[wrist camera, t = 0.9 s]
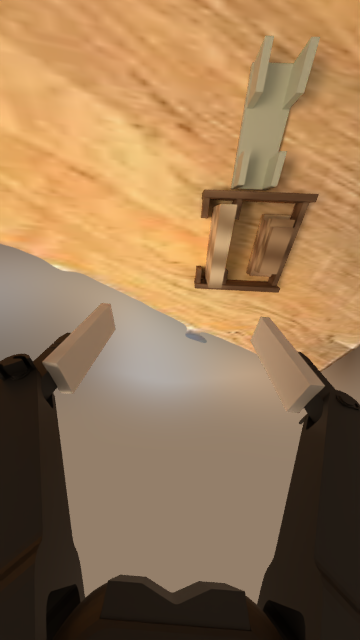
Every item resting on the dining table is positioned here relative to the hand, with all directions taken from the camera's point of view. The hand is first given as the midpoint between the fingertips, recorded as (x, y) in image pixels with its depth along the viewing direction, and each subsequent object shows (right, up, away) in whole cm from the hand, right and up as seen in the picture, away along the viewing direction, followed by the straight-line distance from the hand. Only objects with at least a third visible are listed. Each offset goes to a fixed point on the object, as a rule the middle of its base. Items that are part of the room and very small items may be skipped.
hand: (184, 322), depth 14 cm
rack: (+16, +20, +27) cm, 38 cm away
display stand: (+15, +36, +17) cm, 43 cm away
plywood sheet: (+9, +20, +28) cm, 36 cm away
